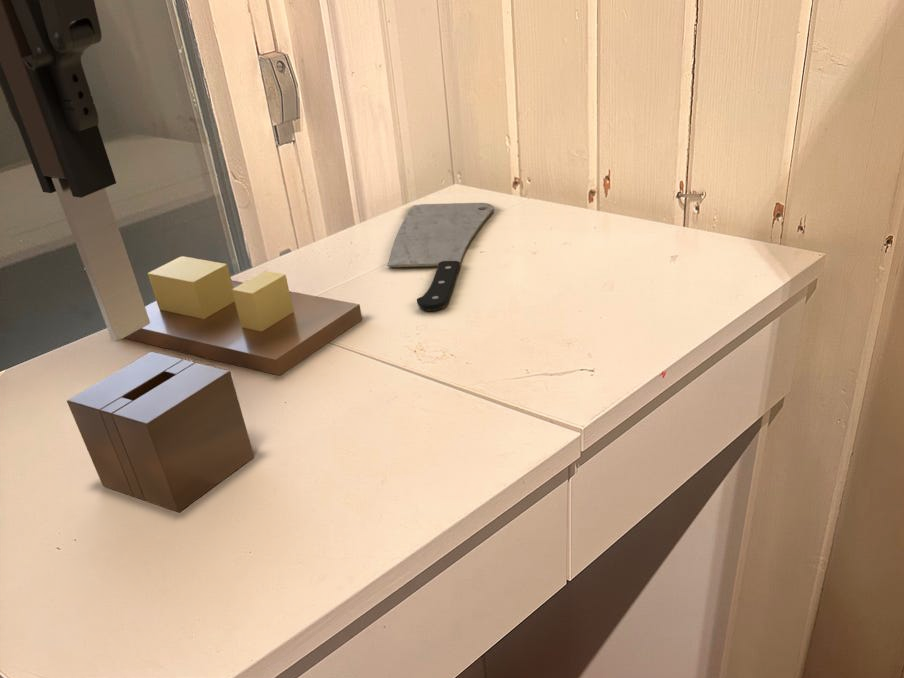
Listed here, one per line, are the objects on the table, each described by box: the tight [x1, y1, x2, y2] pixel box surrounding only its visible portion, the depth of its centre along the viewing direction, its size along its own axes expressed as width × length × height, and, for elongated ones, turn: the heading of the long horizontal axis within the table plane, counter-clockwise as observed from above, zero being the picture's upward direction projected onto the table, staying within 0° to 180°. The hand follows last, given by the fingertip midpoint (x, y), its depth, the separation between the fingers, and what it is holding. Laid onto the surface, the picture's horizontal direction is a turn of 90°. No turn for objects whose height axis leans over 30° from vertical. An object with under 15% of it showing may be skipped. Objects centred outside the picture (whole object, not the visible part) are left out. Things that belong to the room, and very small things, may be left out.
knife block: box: [66, 351, 255, 513], centre depth 66 cm, size 8×8×7 cm
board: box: [124, 279, 363, 376], centre depth 86 cm, size 20×12×2 cm, turn 59°
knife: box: [0, 0, 150, 342], centre depth 54 cm, size 2×3×19 cm, turn 149°
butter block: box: [147, 255, 235, 319], centre depth 86 cm, size 6×4×4 cm
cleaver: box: [386, 202, 495, 311], centre depth 96 cm, size 29×1×10 cm
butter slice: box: [232, 270, 294, 332], centre depth 82 cm, size 2×4×4 cm, turn 149°
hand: (79, 186), depth 55 cm, fingers closed on knife, 2 cm apart
